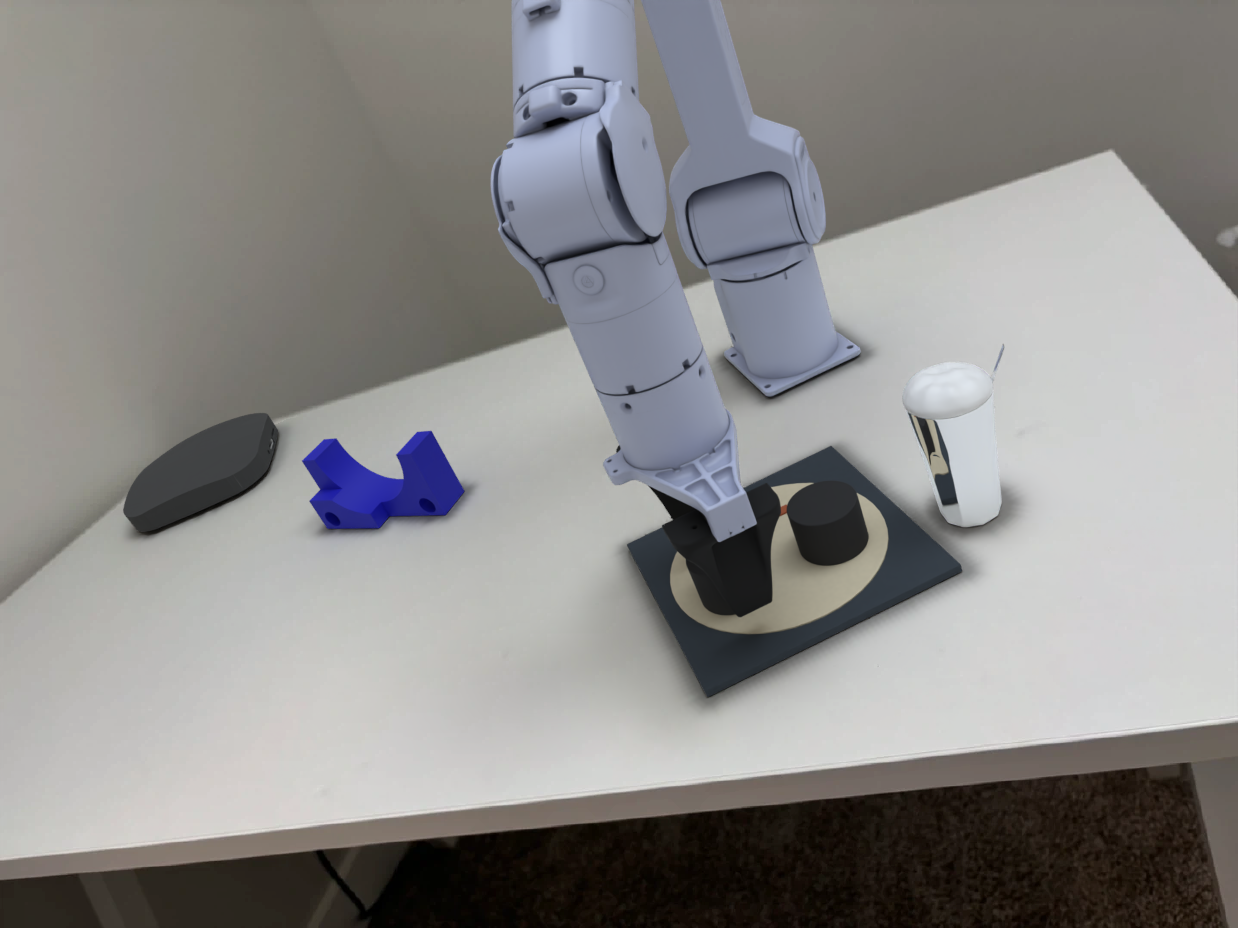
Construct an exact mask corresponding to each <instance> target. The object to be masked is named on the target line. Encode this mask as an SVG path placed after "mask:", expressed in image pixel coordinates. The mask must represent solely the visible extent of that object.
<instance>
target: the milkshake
mask: <svg viewBox="0 0 1238 928" xmlns="http://www.w3.org/2000/svg"><path fill="white" fill-rule="evenodd" d="M1004 351H1005V344H1004V343H1002V345H1001V347H1000V350H999V354H998V357H997V359H996V363H995V365H994V369H993V371H992V374H991V375H990V374H989V373H988V372H987V371H986V370H985V369H984V368H982V367H980V366H979V365H977V364H974V363H971V362H965V361H943V362H940V363H937V364H934V365H930V366H927V367H924V368H922V369H920V370H918V371H917V372H916V373H914V374H913V376H911V377H910V378H909V380H908V381H907V383H906V384H905V386H904V388H903V390H902V393H901V394H902V395H901V400H902V401H901V402H902V405H903V408H904V410H905V411H904V412H905V413H906V416H907V418H908V421H909V424H910V428H911V429H912V433H913V435H914V438H915V441H916V443H917V446H918V449H919V452H920V455H921V458H922V462H923V465H924V468H925V470H926V473H927V477H928V479H929V482H930V485H931V489H932V492H933V494H934V497H935V501H936V504H937V507H938V509H939V512H940V514H941V515H942V517H943V518H944V520H946V522H947V523H948V524H950V525H954V526H958V527H961V528H971V527H977V526H978V527H979V526H983V525H985V524H987V523H989V522H990V521H991V520H994V519H995V518H997V517H998V516H999V513H1000V510H1001V507H1002V504H1003V503H1002V502H1003V501H1002V500H1003V499H1002V489H1001V488H1002V487H1001V477H1000V466H999V453H998V442H997V441H998V440H997V432H996V413H995V412H996V411H995V393H994V381H995V378H996V375H997V372H998V370H999V366H1000V363H1001V360H1002V358H1003V354H1004Z"/></svg>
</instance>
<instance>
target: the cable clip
mask: <svg viewBox="0 0 1238 928" xmlns="http://www.w3.org/2000/svg"><path fill="white" fill-rule="evenodd" d="M395 457H396V458H397V460H398V462H399V465H400V467H401V470H402V477H403V478H392V477H387V476H385V475H381V474H379V473H376V472H374V471H372V470H371V469H369V468H367V467H366V466H364V465H362V464H361V463H360V462H359V461H358V460H356V459H355V458H354V457H353V456H352V455H350V454H349V453H348V451H347V450H346V449H345V448H344V446H343V445H342V444H341V442H340V441H339V440H338V438H335V437H334V438H324V439H323V440H322V441H320V443H318V444H317V445H316V446H315V448H313V449H312V450H311V451H310V452H309V453H308V454H307V455H306V456H305V457H304V458H303V459H302V460H301V462H302V464H303V466H304V467H305V468H306V470H307V471H308V474H309V475H310V476H311V478H312V479H313V481H314V482H315V484H316V485H317V488H319V490H318V491H317V492H316V493H315V494H314V495H313V496H312V497H311V499H309V504H310V505H311V506H312V508H313V509H314V511H315V512H316V514H317V516H318V517H319V519H320V520H321V521H322V523H323V524H324V526H325V527H326V529H327V530H336V529H337V530H340V529H342V530H344V529H353V530H354V529H380V528H381V527H382V526H383V525H384V523H385V522H386V521H387V520H388V519H389V518H390V517H420V516H421V517H425V516H446V515H447V514H448V513H449V512H450V510H451V509H452V507H453V506H454V505H455V504H456V503H457V502H458V501H459V499H460V498H461V496H462V495H463V494H464V493H465V489H464V487H463V485H462V483H461V481H460V480H459V478H458V476H457V475H456V473H455V471H454V469H453V467H452V465H451V463H450V462H449V460H448V458H447V456H446V454H445V453H444V451H443V449H442V447H441V445H440V443H439V442H438V440H437V438H436V436H435V435H434V433H433V431H432V430H422V431H416V432H415V433H414V434H413V435H412V436H411V437H410V439H409V440H408V441H407V442H406V443H405V444H404V445H403V446H402V448H401V449H399V451H398V452H397V453H396V454H395Z"/></svg>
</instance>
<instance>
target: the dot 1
mask: <svg viewBox="0 0 1238 928" xmlns="http://www.w3.org/2000/svg"><path fill="white" fill-rule="evenodd" d="M686 566H687V568H688V570H689V573H690V575H691V578H692V580H693V582H694V585H695V587H696V590H697V592H698V594H699V597H700V599H701V601H702V604H703V606H704V607H705V608H706V609H707V610H708V611H710V612H712V613H714V614H717V615H735V613H734V612H733V611H732V610H731V609H730V608H729V606H728V605H727V603H726V602H725V601H724V599H723V597H722V596H721V594H720V593H719V591H718V590H717V588H716V587H715V585H714V583H713V582H712V581H711V579H710V578H709V577H708V576H707V574H706V573H705V572H704V571H703V570H702V569H700V568H699V567H698V566H697V565H695V564H694V563H692V562H690V561H689V560H687V559H686Z"/></svg>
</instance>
